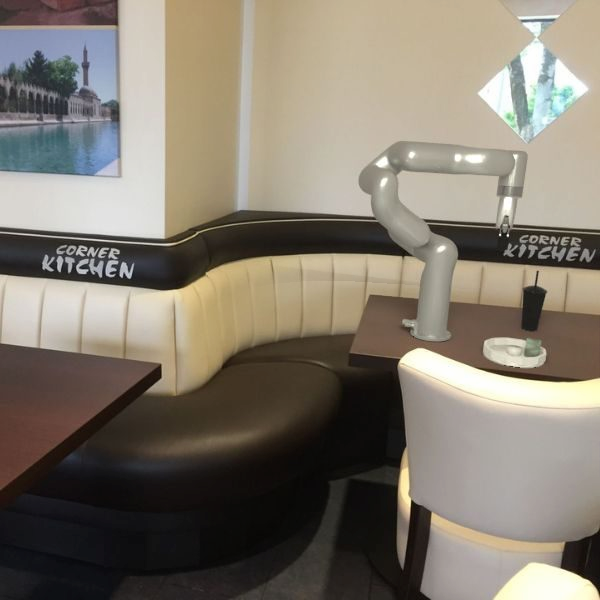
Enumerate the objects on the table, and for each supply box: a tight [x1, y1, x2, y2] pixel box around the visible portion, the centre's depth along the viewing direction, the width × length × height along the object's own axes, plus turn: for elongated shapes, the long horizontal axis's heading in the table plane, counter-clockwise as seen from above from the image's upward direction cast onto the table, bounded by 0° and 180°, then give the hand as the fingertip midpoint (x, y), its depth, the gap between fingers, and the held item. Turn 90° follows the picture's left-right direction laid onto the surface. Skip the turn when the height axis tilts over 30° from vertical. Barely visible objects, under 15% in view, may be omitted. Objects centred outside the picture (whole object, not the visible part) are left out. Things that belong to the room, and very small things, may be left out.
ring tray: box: [482, 336, 547, 369], centre depth 174 cm, size 17×17×3 cm
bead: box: [524, 337, 542, 357], centre depth 172 cm, size 4×4×5 cm
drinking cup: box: [521, 270, 548, 332], centre depth 198 cm, size 8×8×20 cm
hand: (502, 247), depth 187 cm, fingers open, 9 cm apart
